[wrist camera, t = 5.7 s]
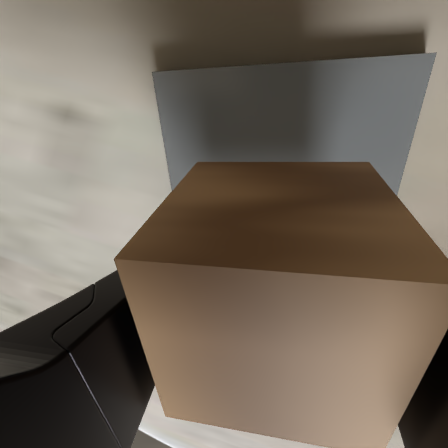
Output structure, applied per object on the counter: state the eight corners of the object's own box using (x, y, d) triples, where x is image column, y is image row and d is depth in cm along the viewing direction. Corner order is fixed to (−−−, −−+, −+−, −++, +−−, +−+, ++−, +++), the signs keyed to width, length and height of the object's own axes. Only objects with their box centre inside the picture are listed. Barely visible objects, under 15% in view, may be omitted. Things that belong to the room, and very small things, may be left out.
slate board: (426, 53, 10) (436, 52, 9) (368, 273, 15) (372, 283, 14) (159, 71, 12) (151, 72, 11) (189, 260, 17) (185, 268, 16)
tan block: (369, 161, 8) (469, 285, 3) (341, 293, 10) (380, 457, 6) (197, 161, 9) (113, 259, 4) (210, 281, 11) (165, 416, 7)
